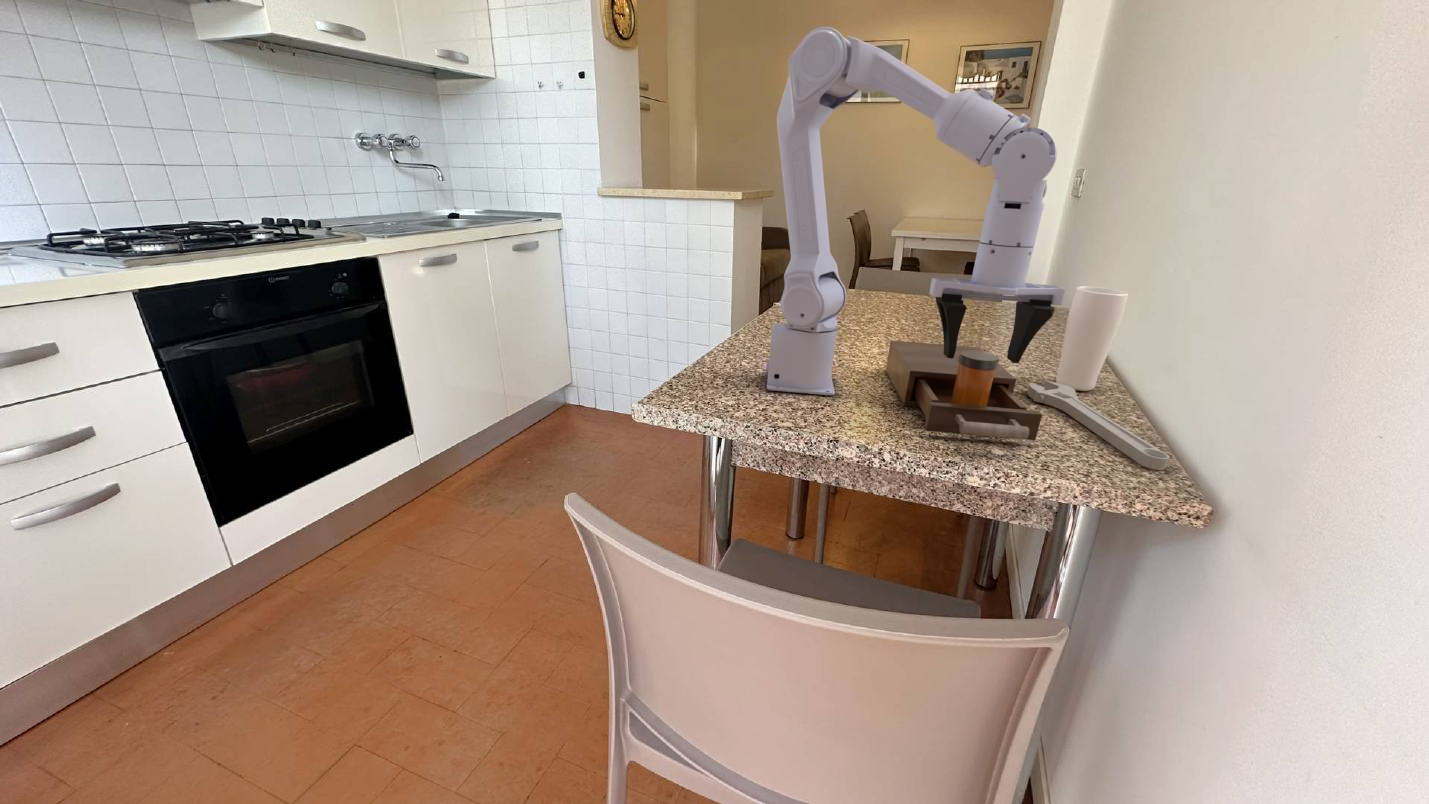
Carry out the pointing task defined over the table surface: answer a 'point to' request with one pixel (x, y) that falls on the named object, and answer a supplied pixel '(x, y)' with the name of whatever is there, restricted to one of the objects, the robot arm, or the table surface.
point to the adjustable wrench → (1098, 424)
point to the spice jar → (974, 378)
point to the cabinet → (929, 367)
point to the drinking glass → (1089, 335)
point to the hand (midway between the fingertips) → (980, 358)
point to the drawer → (975, 411)
